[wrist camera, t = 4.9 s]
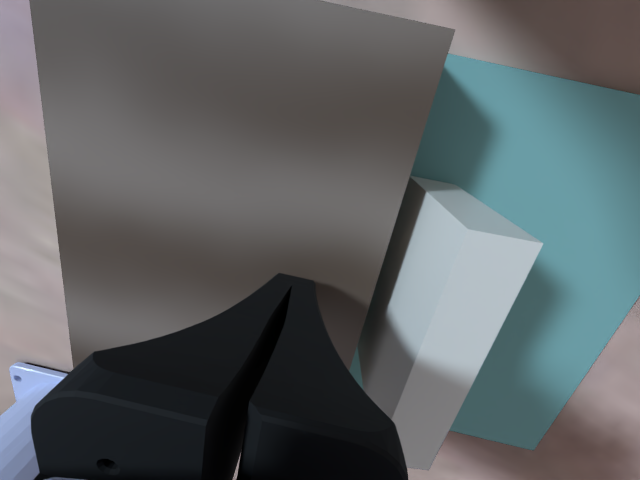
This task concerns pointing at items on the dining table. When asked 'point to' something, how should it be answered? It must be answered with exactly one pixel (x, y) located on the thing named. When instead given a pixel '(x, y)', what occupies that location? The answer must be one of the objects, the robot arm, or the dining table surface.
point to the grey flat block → (226, 155)
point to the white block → (438, 309)
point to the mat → (541, 227)
